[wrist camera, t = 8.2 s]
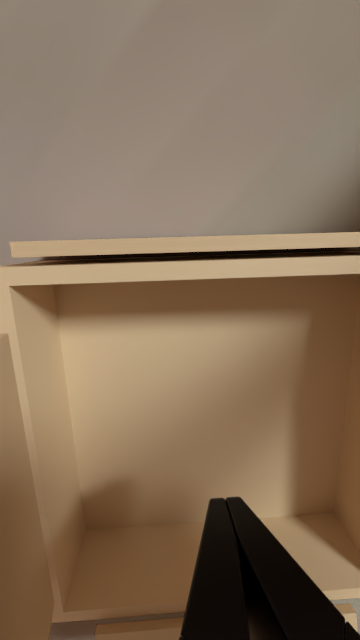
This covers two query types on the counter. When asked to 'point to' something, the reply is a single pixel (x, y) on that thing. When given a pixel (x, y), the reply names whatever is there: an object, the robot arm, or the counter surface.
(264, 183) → the counter surface
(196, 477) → the carton
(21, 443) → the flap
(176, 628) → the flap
